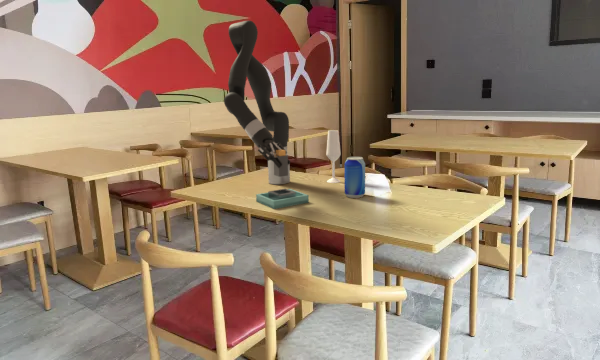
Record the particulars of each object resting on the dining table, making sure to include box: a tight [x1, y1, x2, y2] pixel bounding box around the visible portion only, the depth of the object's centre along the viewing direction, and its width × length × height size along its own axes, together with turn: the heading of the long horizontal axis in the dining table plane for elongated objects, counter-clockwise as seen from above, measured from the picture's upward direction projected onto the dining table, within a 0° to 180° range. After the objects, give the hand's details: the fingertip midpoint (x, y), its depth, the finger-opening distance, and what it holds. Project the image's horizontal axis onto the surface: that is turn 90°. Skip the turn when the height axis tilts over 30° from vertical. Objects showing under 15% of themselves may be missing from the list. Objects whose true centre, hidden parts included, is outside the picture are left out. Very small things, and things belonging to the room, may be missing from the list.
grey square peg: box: [274, 150, 289, 177], centre depth 192 cm, size 4×4×10 cm
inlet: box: [268, 188, 296, 200], centre depth 195 cm, size 8×8×3 cm
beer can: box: [344, 156, 366, 199], centre depth 201 cm, size 8×8×16 cm
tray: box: [255, 188, 310, 210], centre depth 195 cm, size 16×14×3 cm
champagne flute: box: [325, 129, 341, 184], centre depth 228 cm, size 7×7×24 cm
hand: (284, 165), depth 191 cm, fingers closed on grey square peg, 5 cm apart
